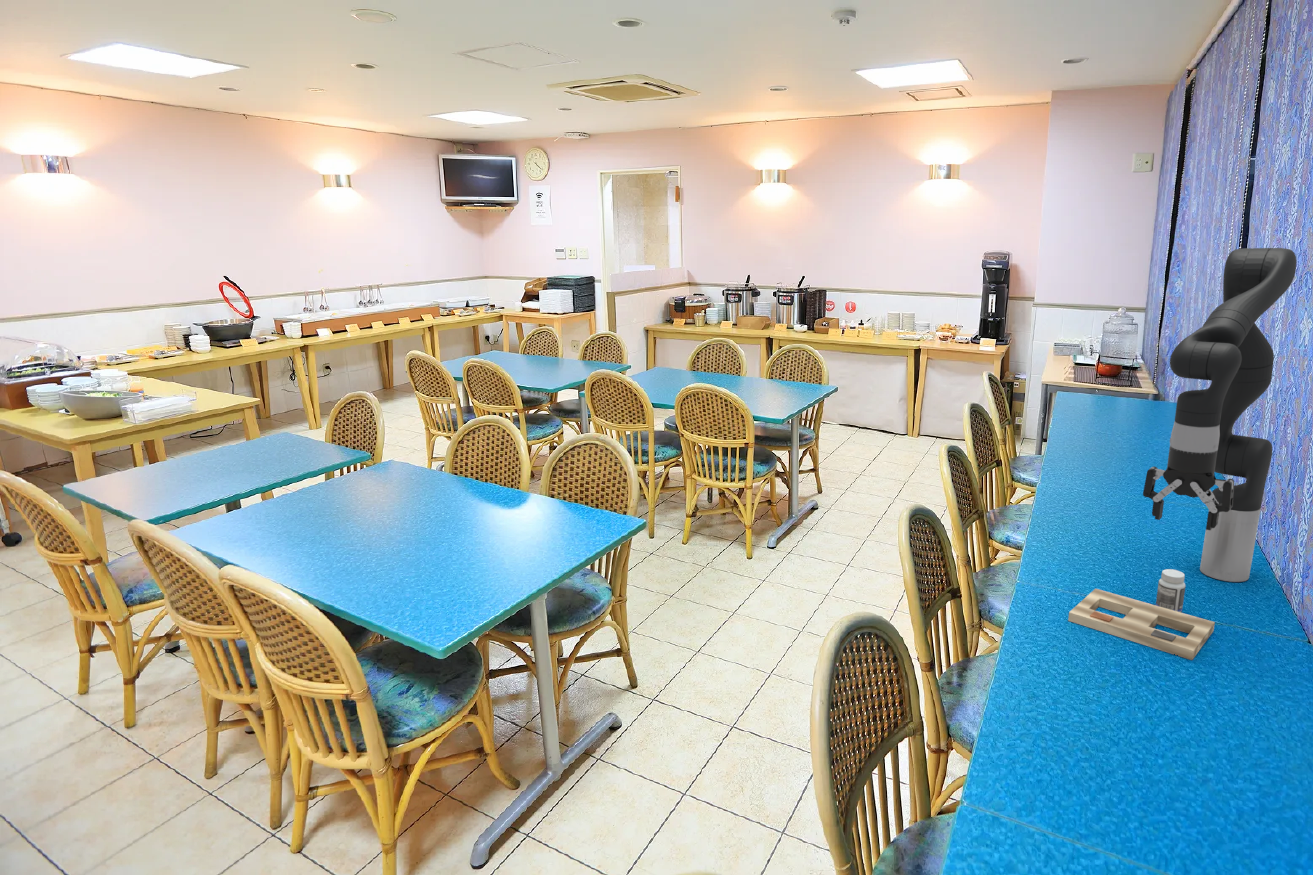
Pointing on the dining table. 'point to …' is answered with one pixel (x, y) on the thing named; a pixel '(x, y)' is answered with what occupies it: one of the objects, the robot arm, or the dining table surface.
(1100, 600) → the socket board
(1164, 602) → the pill bottle
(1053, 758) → the dining table surface
